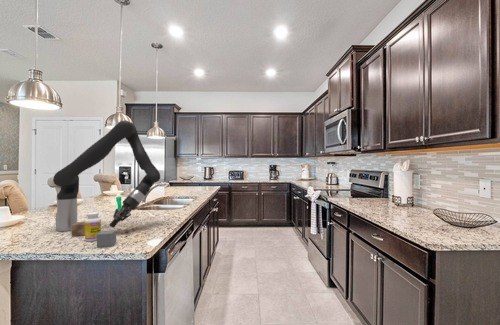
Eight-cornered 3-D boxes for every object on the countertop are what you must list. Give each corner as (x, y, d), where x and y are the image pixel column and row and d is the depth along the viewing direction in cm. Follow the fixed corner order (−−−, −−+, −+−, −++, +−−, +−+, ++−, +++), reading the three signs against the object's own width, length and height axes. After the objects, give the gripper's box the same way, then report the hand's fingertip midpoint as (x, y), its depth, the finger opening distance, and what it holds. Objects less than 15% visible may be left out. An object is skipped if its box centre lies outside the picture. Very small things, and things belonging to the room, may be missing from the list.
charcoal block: (96, 248, 110) (96, 234, 110) (102, 243, 116) (102, 230, 116) (111, 247, 111) (111, 233, 111) (116, 242, 117) (116, 229, 117)
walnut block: (71, 237, 126) (71, 225, 126) (77, 233, 132) (77, 222, 132) (84, 236, 128) (84, 224, 127) (90, 233, 133) (89, 221, 133)
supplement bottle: (89, 242, 117) (88, 215, 117) (82, 240, 121) (81, 213, 121) (103, 238, 123) (103, 212, 123) (96, 236, 126) (96, 211, 126)
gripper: (122, 194, 140) (99, 220, 130) (135, 196, 132) (112, 224, 123) (132, 202, 145) (110, 228, 135) (145, 204, 137) (123, 232, 127)
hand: (111, 226), depth 129 cm, fingers closed
